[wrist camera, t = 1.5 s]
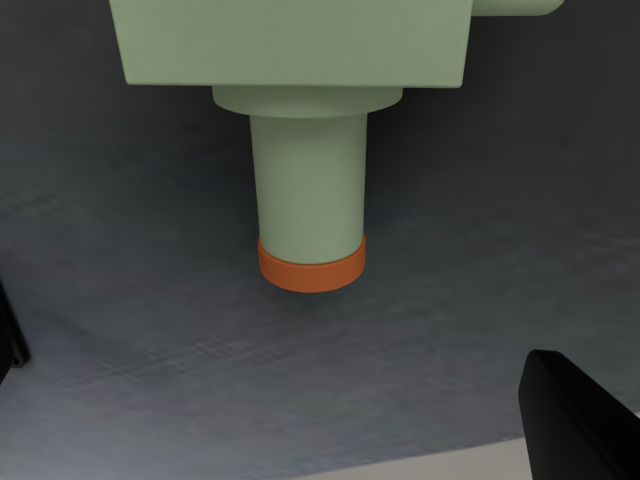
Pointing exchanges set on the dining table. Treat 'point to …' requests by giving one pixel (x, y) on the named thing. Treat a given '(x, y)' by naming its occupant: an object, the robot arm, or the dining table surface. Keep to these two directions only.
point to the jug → (305, 99)
